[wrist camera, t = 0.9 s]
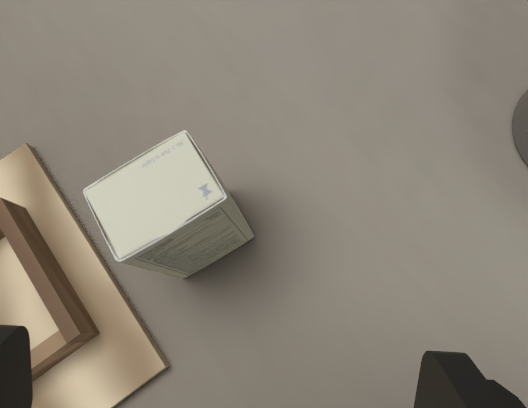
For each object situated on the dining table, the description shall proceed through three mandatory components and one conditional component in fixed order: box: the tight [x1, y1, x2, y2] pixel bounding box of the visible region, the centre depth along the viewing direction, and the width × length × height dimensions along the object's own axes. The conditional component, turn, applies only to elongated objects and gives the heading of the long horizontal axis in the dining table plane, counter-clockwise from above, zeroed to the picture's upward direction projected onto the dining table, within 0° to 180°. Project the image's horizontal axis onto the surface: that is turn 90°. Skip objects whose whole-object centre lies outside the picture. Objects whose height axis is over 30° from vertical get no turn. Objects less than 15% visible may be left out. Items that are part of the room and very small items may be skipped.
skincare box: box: [83, 130, 254, 279], centre depth 29 cm, size 6×4×12 cm
